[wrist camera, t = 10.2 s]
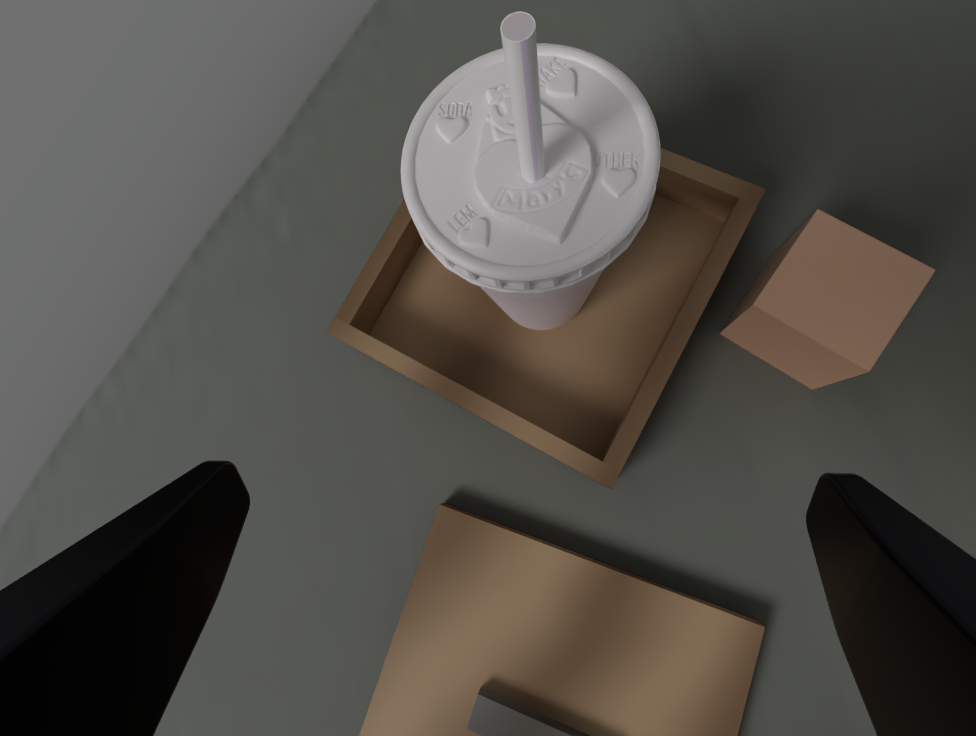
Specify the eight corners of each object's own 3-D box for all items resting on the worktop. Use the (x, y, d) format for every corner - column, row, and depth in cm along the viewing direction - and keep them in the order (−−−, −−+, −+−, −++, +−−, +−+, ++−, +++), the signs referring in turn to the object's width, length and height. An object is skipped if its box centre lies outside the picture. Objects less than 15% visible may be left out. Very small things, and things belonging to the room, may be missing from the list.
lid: (757, 620, 19) (771, 632, 18) (661, 991, 18) (669, 1035, 16) (443, 502, 22) (435, 505, 20) (334, 820, 20) (317, 846, 19)
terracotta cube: (869, 372, 17) (811, 389, 20) (935, 270, 17) (866, 306, 21) (752, 304, 17) (718, 334, 21) (817, 208, 18) (772, 255, 22)
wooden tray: (743, 219, 22) (766, 189, 19) (606, 486, 21) (611, 489, 18) (485, 114, 24) (476, 75, 22) (350, 346, 23) (325, 332, 21)
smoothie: (494, 384, 22) (374, 245, 8) (448, 246, 23) (279, -72, 9) (644, 331, 21) (790, 86, 7) (588, 194, 23) (625, -221, 9)
